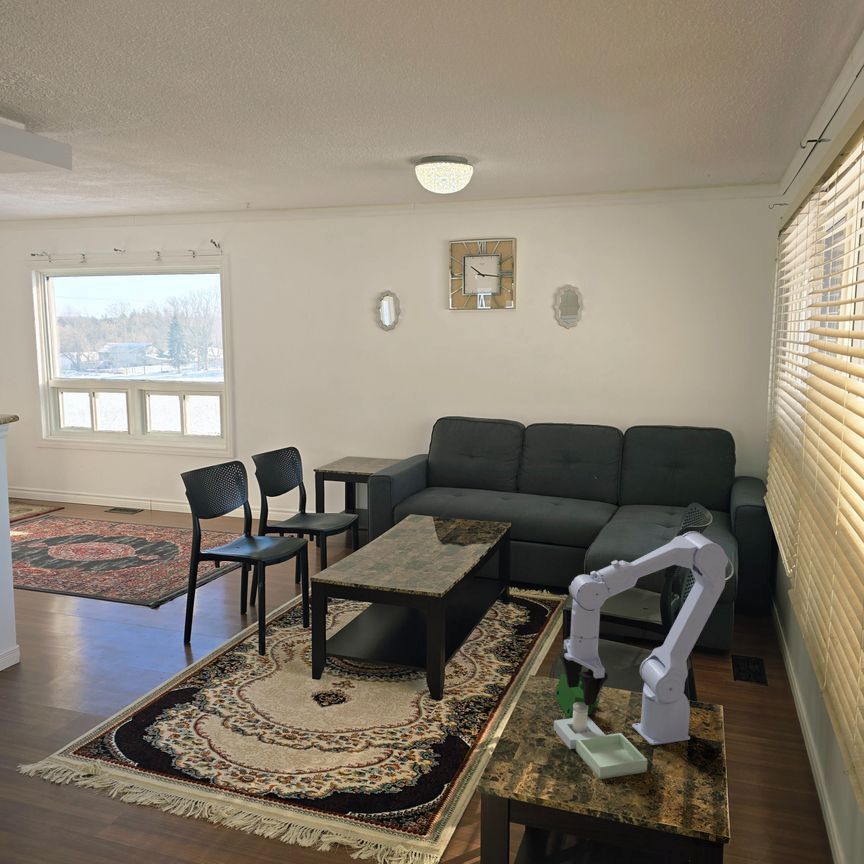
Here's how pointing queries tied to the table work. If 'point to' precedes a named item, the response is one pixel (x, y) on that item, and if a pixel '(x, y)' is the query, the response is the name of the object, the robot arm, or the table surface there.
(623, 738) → the parts tray
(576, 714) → the cylinder
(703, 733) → the table surface
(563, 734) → the grey square frame
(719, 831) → the table surface
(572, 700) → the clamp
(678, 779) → the table surface
